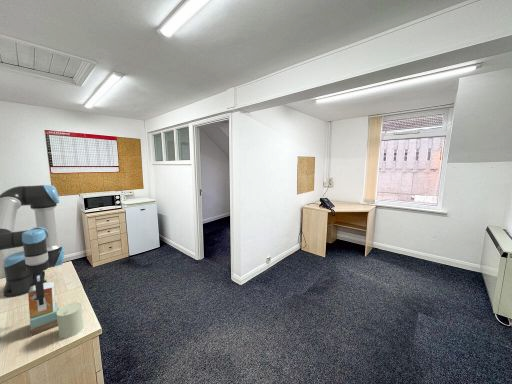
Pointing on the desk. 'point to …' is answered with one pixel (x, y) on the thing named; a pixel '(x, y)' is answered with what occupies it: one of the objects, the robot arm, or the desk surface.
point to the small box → (48, 297)
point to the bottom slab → (44, 327)
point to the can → (70, 320)
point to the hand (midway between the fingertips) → (42, 303)
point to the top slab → (44, 318)
